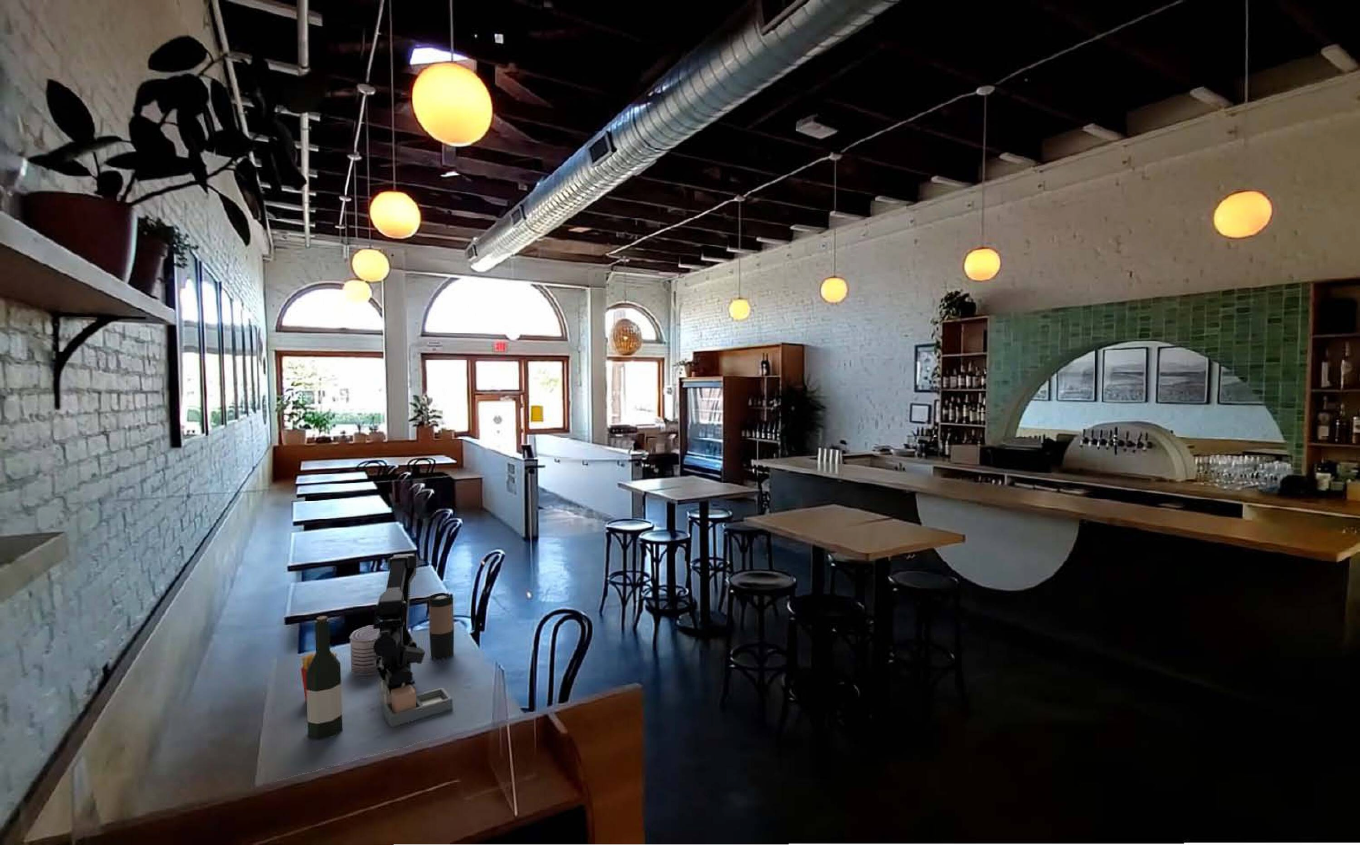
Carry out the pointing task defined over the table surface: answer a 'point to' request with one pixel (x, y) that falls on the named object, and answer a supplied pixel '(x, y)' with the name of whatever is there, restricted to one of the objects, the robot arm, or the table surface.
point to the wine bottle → (323, 687)
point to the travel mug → (441, 625)
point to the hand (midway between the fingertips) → (393, 696)
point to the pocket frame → (420, 707)
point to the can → (363, 651)
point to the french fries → (304, 668)
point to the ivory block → (386, 692)
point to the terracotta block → (403, 699)
